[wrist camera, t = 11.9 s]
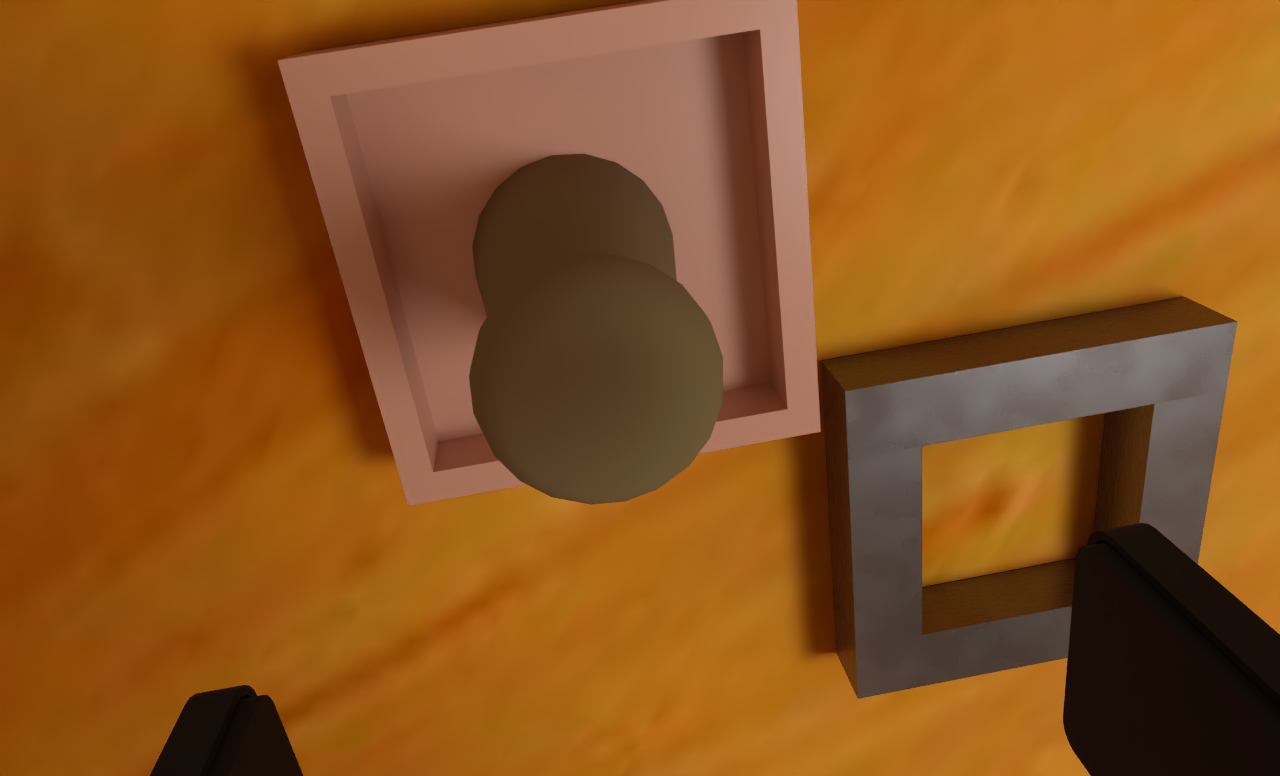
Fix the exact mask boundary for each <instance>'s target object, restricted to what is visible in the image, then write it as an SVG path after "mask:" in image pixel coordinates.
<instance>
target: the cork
mask: <svg viewBox="0 0 1280 776" xmlns="http://www.w3.org/2000/svg"><path fill="white" fill-rule="evenodd" d="M472 248H473V257H474V266H475V275H476V280H477V283H478V287H479V290H480V294H481V297H482V301H483V304H484V308H485V311H486V315H487V318H486V320H485V321H484V323H483V324H482V326H481V327H480V329H479V333H478V337H477V341H476V346H475V350H474V354H473V359H472V363H471V368H470V373H469V382H470V390H471V399H472V407H473V414H474V416H475V418H476V420H477V422H478V424H479V426H480V428H481V430H482V432H483V434H484V436H485V438H486V440H487V442H488V444H489V446H490V448H491V450H492V452H493V454H494V456H495V457H496V458H497V459H498V460H499V461H500V462H501V463H502V464H503V465H504V466H505V467H506V468H507V469H508V470H509V471H510V472H511V473H512V474H513V475H514V476H515V477H516V478H517V479H518V480H519V481H521V482H523V483H525V484H527V485H529V486H531V487H533V488H535V489H537V490H539V491H541V492H543V493H545V494H547V495H549V496H551V497H554V498H559V499H565V500H570V501H576V502H581V503H586V504H600V503H612V502H623V501H627V500H630V499H632V498H635V497H638V496H640V495H643V494H646V493H648V492H651V491H654V490H656V489H658V488H660V487H661V486H662V485H664V484H665V483H666V482H668V481H669V480H670V479H672V478H673V477H675V476H676V475H677V474H679V473H680V472H681V471H683V470H684V469H686V468H687V467H688V466H689V465H690V464H691V462H692V461H693V460H694V459H695V457H696V456H697V455H698V453H699V452H700V451H701V449H702V448H703V447H704V445H705V444H706V443H707V441H708V440H709V439H710V437H711V434H712V432H713V429H714V426H715V423H716V420H717V417H718V415H719V412H720V409H721V406H722V398H723V356H722V353H721V350H720V347H719V344H718V341H717V339H716V336H715V333H714V330H713V327H712V324H711V322H710V320H709V319H708V317H707V315H706V314H705V312H704V311H703V310H702V309H701V307H700V306H699V305H698V304H697V302H696V301H695V300H694V299H693V297H692V296H691V295H690V294H689V292H688V291H687V290H686V289H685V287H684V286H683V285H682V284H680V283H679V282H677V277H676V266H675V255H674V244H673V234H672V231H671V228H670V225H669V223H668V220H667V217H666V214H665V211H664V208H663V205H662V204H661V203H660V201H659V200H658V199H657V197H656V196H655V195H654V194H653V192H652V191H651V190H650V188H649V187H648V186H647V185H646V183H645V182H644V181H643V180H642V179H641V178H639V177H638V176H636V175H635V174H633V173H632V172H630V171H629V170H627V169H626V168H624V167H623V166H621V165H620V164H618V163H617V162H613V161H610V160H606V159H602V158H599V157H595V156H592V155H588V154H567V155H551V156H548V157H546V158H543V159H541V160H538V161H536V162H533V163H531V164H528V165H525V166H523V167H521V168H519V169H518V170H517V171H516V172H515V173H513V174H512V175H511V176H510V177H509V178H507V179H506V180H505V181H504V182H503V183H501V184H500V185H499V186H498V187H497V188H496V189H495V190H494V192H493V194H492V195H491V197H490V199H489V200H488V202H487V203H486V205H485V207H484V208H483V210H482V212H481V213H480V215H479V218H478V223H477V227H476V232H475V237H474V241H473V246H472Z"/></svg>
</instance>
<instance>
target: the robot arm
mask: <svg viewBox="0 0 1280 776" xmlns="http://www.w3.org/2000/svg"><path fill="white" fill-rule="evenodd" d="M1063 724H1064V729H1065V733H1066V736H1067V739H1068V741H1069V743H1070V746H1071V747H1072V749H1073V751H1074V752H1075V754H1076V755H1077V757H1078V758H1079V760H1080V761H1081V762H1082V764H1083V765H1084V767H1085V768H1086V769H1087V771H1088V772H1089V774H1090V775H1091V776H1280V635H1279V634H1278V633H1277V632H1276V631H1275V630H1274V629H1272V628H1271V627H1270V626H1269V625H1268V624H1267V623H1265V622H1264V621H1263V620H1262V619H1261V618H1260V617H1258V616H1257V615H1256V614H1255V613H1254V612H1253V611H1251V610H1250V609H1249V608H1248V607H1247V606H1246V605H1244V604H1243V603H1242V602H1241V601H1240V600H1239V599H1237V598H1236V597H1235V596H1234V595H1233V594H1232V593H1230V592H1229V591H1228V590H1227V589H1226V588H1225V587H1223V586H1222V585H1221V584H1220V583H1219V582H1218V581H1216V580H1215V579H1214V578H1213V577H1212V576H1211V575H1209V574H1208V573H1207V572H1206V571H1205V570H1204V569H1203V568H1201V567H1200V566H1199V565H1198V564H1197V563H1196V562H1194V561H1193V560H1192V559H1191V558H1190V557H1189V556H1187V555H1186V554H1185V553H1184V552H1183V551H1182V550H1180V549H1179V548H1178V547H1177V546H1176V545H1175V544H1173V543H1172V542H1171V541H1170V540H1169V539H1168V538H1166V537H1165V536H1164V535H1163V534H1162V533H1161V532H1159V531H1158V530H1157V529H1156V528H1154V527H1153V526H1151V525H1150V524H1146V523H1137V524H1132V525H1126V526H1121V527H1115V528H1110V529H1104V530H1099V531H1096V532H1093V533H1092V534H1091V536H1090V537H1089V539H1088V544H1087V546H1083V547H1081V548H1079V550H1078V551H1077V554H1076V561H1075V574H1074V586H1073V599H1072V612H1071V624H1070V637H1069V649H1068V662H1067V674H1066V687H1065V700H1064V712H1063ZM150 776H303V774H302V771H301V769H300V766H299V764H298V761H297V759H296V757H295V754H294V752H293V749H292V747H291V744H290V742H289V739H288V737H287V734H286V732H285V729H284V727H283V725H282V722H281V720H280V717H279V715H278V712H277V710H276V707H275V705H274V703H273V701H272V699H271V698H270V697H269V696H268V695H261V696H257V695H256V693H255V691H254V689H252V688H251V687H250V686H248V685H242V686H236V687H231V688H225V689H220V690H214V691H209V692H203V693H198V694H195V695H193V696H192V697H190V698H189V700H188V701H187V703H186V704H185V706H184V708H183V710H182V712H181V714H180V716H179V718H178V720H177V722H176V724H175V726H174V728H173V730H172V732H171V734H170V736H169V738H168V740H167V742H166V744H165V746H164V748H163V750H162V752H161V754H160V756H159V758H158V760H157V762H156V764H155V766H154V768H153V770H152V772H151V774H150Z"/></svg>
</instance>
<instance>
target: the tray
mask: <svg viewBox="0 0 1280 776" xmlns="http://www.w3.org/2000/svg"><path fill="white" fill-rule="evenodd" d="M277 61H278V64H279V68H280V71H281V74H282V78H283V81H284V85H285V88H286V91H287V95H288V98H289V102H290V105H291V108H292V112H293V115H294V119H295V122H296V125H297V129H298V132H299V136H300V139H301V142H302V146H303V149H304V153H305V156H306V159H307V163H308V166H309V170H310V173H311V176H312V180H313V183H314V187H315V190H316V193H317V197H318V200H319V204H320V207H321V210H322V214H323V217H324V221H325V224H326V227H327V231H328V234H329V238H330V241H331V244H332V248H333V251H334V255H335V258H336V261H337V265H338V268H339V272H340V275H341V278H342V282H343V285H344V289H345V292H346V296H347V299H348V302H349V306H350V309H351V313H352V316H353V319H354V323H355V326H356V330H357V333H358V336H359V340H360V343H361V347H362V350H363V353H364V357H365V360H366V364H367V367H368V370H369V374H370V377H371V381H372V384H373V387H374V391H375V394H376V398H377V401H378V404H379V408H380V411H381V415H382V418H383V421H384V425H385V428H386V432H387V435H388V438H389V442H390V445H391V449H392V452H393V455H394V459H395V462H396V466H397V469H398V472H399V476H400V479H401V483H402V486H403V489H404V493H405V496H406V500H407V503H408V506H411V505H416V504H422V503H427V502H433V501H439V500H444V499H450V498H455V497H461V496H466V495H472V494H478V493H483V492H489V491H494V490H500V489H505V488H511V487H516V486H522V485H527V484H525V483H523V482H521V481H519V480H518V479H517V478H516V477H515V476H514V475H513V474H512V473H511V472H510V471H509V470H508V469H507V468H506V467H505V466H504V465H503V464H502V463H501V462H500V461H499V460H498V459H497V458H496V457H495V456H494V454H493V452H492V450H491V448H490V446H489V444H488V442H487V440H486V438H485V436H484V434H483V432H482V430H481V428H480V426H479V424H478V422H477V420H476V418H475V416H474V414H473V407H472V399H471V390H470V382H469V373H470V368H471V363H472V359H473V354H474V350H475V346H476V341H477V337H478V333H479V329H480V327H481V326H482V324H483V323H484V321H485V320H486V318H487V315H486V311H485V308H484V304H483V301H482V297H481V294H480V290H479V287H478V283H477V280H476V275H475V266H474V257H473V248H472V246H473V241H474V237H475V232H476V227H477V223H478V218H479V215H480V213H481V212H482V210H483V208H484V207H485V205H486V203H487V202H488V200H489V199H490V197H491V195H492V194H493V192H494V190H495V189H496V188H497V187H498V186H499V185H500V184H501V183H503V182H504V181H505V180H506V179H507V178H509V177H510V176H511V175H512V174H513V173H515V172H516V171H517V170H518V169H519V168H521V167H523V166H525V165H528V164H531V163H533V162H536V161H538V160H541V159H543V158H546V157H548V156H551V155H567V154H588V155H592V156H595V157H599V158H602V159H606V160H610V161H613V162H617V163H618V164H620V165H621V166H623V167H624V168H626V169H627V170H629V171H630V172H632V173H633V174H635V175H636V176H638V177H639V178H641V179H642V180H643V181H644V182H645V183H646V185H647V186H648V187H649V188H650V190H651V191H652V192H653V194H654V195H655V196H656V197H657V199H658V200H659V201H660V203H661V204H662V205H663V208H664V211H665V214H666V217H667V220H668V223H669V225H670V228H671V231H672V234H673V244H674V255H675V266H676V277H677V282H679V283H680V284H682V285H683V286H684V287H685V289H686V290H687V291H688V292H689V294H690V295H691V296H692V297H693V299H694V300H695V301H696V302H697V304H698V305H699V306H700V307H701V309H702V310H703V311H704V312H705V314H706V315H707V317H708V319H709V320H710V322H711V324H712V327H713V330H714V333H715V336H716V339H717V341H718V344H719V347H720V350H721V353H722V356H723V398H722V406H721V409H720V412H719V415H718V417H717V420H716V423H715V426H714V429H713V432H712V434H711V437H710V439H709V440H708V441H707V443H706V444H705V445H704V447H703V448H702V449H701V451H700V452H699V453H698V454H700V453H706V452H711V451H717V450H722V449H728V448H733V447H739V446H745V445H750V444H756V443H761V442H767V441H772V440H778V439H783V438H789V437H795V436H800V435H806V434H811V433H817V432H821V427H820V409H819V391H818V373H817V355H816V337H815V319H814V301H813V282H812V264H811V246H810V228H809V210H808V192H807V174H806V156H805V138H804V120H803V101H802V83H801V65H800V47H799V29H798V11H797V0H639V1H633V2H626V3H620V4H613V5H607V6H600V7H594V8H587V9H581V10H574V11H568V12H561V13H555V14H548V15H541V16H535V17H528V18H522V19H515V20H509V21H502V22H496V23H489V24H483V25H476V26H470V27H463V28H457V29H450V30H443V31H437V32H430V33H424V34H417V35H411V36H404V37H398V38H391V39H385V40H378V41H372V42H365V43H359V44H352V45H346V46H339V47H332V48H326V49H319V50H313V51H306V52H302V53H299V54H296V55H293V56H290V57H286V58H283V59H280V60H277Z"/></svg>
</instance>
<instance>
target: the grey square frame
mask: <svg viewBox="0 0 1280 776" xmlns="http://www.w3.org/2000/svg"><path fill="white" fill-rule="evenodd" d="M1236 326H1237V321H1235V320H1233V319H1231V318H1228V317H1226V316H1224V315H1222V314H1220V313H1218V312H1216V311H1214V310H1212V309H1210V308H1207V307H1205V306H1203V305H1201V304H1199V303H1197V302H1195V301H1193V300H1191V299H1188V298H1186V297H1181V298H1176V299H1170V300H1164V301H1158V302H1153V303H1147V304H1141V305H1136V306H1130V307H1124V308H1119V309H1113V310H1107V311H1102V312H1096V313H1090V314H1084V315H1079V316H1073V317H1067V318H1062V319H1056V320H1050V321H1045V322H1039V323H1033V324H1028V325H1022V326H1016V327H1010V328H1005V329H999V330H993V331H988V332H982V333H976V334H971V335H965V336H959V337H954V338H948V339H942V340H936V341H931V342H925V343H919V344H914V345H908V346H902V347H897V348H891V349H885V350H880V351H874V352H868V353H862V354H857V355H851V356H845V357H840V358H834V359H828V360H823V361H821V365H822V384H823V403H824V422H825V441H826V460H827V479H828V497H829V516H830V535H831V554H832V573H833V592H834V611H835V630H836V649H837V655H838V657H839V659H840V661H841V664H842V666H843V668H844V670H845V672H846V674H847V676H848V679H849V681H850V683H851V685H852V687H853V689H854V691H855V694H856V696H857V698H858V699H859V698H864V697H869V696H874V695H879V694H884V693H889V692H895V691H900V690H905V689H910V688H915V687H920V686H925V685H930V684H935V683H941V682H946V681H951V680H956V679H961V678H966V677H971V676H976V675H981V674H986V673H992V672H997V671H1002V670H1007V669H1012V668H1017V667H1022V666H1027V665H1032V664H1038V663H1043V662H1048V661H1053V660H1058V659H1063V658H1068V649H1069V637H1070V624H1071V612H1072V599H1073V586H1074V574H1075V561H1076V559H1071V560H1065V561H1060V562H1055V563H1050V564H1044V565H1039V566H1034V567H1029V568H1023V569H1018V570H1013V571H1008V572H1002V573H997V574H992V575H986V576H981V577H976V578H971V579H965V580H960V581H955V582H950V583H944V584H939V585H934V586H929V587H923V588H922V446H925V445H931V444H936V443H942V442H947V441H953V440H958V439H964V438H969V437H975V436H980V435H986V434H991V433H997V432H1002V431H1008V430H1013V429H1019V428H1024V427H1030V426H1035V425H1041V424H1046V423H1052V422H1057V421H1063V420H1068V419H1074V418H1079V417H1085V416H1090V415H1096V414H1101V413H1106V416H1105V426H1104V436H1103V446H1102V456H1101V466H1100V476H1099V485H1098V495H1097V505H1096V515H1095V525H1094V532H1096V531H1099V530H1104V529H1110V528H1115V527H1121V526H1126V525H1132V524H1137V523H1146V524H1150V525H1151V526H1153V527H1154V528H1156V529H1157V530H1158V531H1159V532H1161V533H1162V534H1163V535H1164V536H1165V537H1166V538H1168V539H1169V540H1170V541H1171V542H1172V543H1173V544H1175V545H1176V546H1177V547H1178V548H1179V549H1180V550H1182V551H1183V552H1184V553H1185V554H1186V555H1187V556H1189V557H1190V558H1191V559H1192V560H1193V561H1194V562H1196V563H1197V564H1198V558H1199V552H1200V545H1201V539H1202V533H1203V527H1204V521H1205V515H1206V509H1207V503H1208V497H1209V491H1210V484H1211V478H1212V472H1213V466H1214V460H1215V454H1216V448H1217V442H1218V436H1219V430H1220V423H1221V417H1222V411H1223V405H1224V399H1225V393H1226V387H1227V381H1228V375H1229V369H1230V362H1231V356H1232V350H1233V344H1234V338H1235V332H1236Z"/></svg>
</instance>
